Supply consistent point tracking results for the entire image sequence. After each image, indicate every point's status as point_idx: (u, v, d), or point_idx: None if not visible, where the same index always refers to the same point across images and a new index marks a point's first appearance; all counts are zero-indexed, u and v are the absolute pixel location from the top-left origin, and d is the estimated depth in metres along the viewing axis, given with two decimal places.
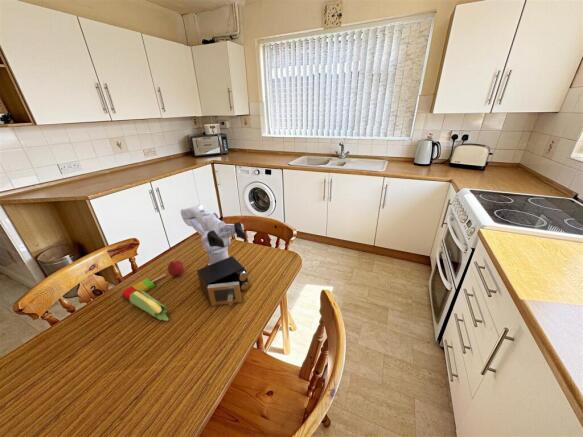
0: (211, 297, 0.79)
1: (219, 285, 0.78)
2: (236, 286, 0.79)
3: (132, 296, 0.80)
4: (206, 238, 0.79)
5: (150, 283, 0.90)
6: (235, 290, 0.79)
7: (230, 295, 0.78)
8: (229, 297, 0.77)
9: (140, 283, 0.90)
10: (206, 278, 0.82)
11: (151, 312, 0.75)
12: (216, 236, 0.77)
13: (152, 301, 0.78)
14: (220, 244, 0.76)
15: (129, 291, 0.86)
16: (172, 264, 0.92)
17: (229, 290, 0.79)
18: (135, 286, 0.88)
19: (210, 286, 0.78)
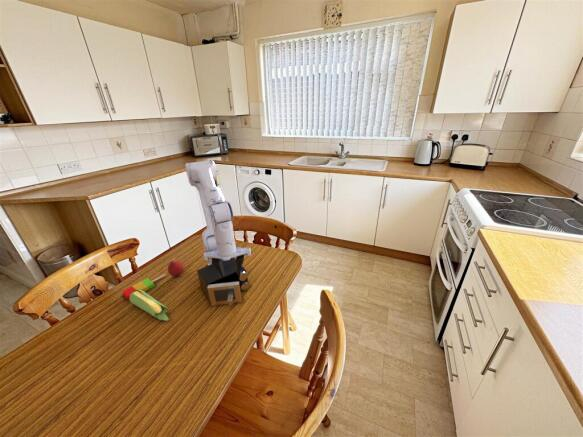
0: (211, 297, 0.79)
1: (219, 285, 0.78)
2: (236, 286, 0.79)
3: (132, 296, 0.80)
4: None
5: (150, 283, 0.90)
6: (235, 290, 0.79)
7: (230, 295, 0.78)
8: (229, 297, 0.77)
9: (140, 283, 0.90)
10: (206, 278, 0.82)
11: (151, 312, 0.75)
12: (219, 270, 0.77)
13: (152, 301, 0.78)
14: None
15: (129, 291, 0.86)
16: (172, 264, 0.92)
17: (229, 290, 0.79)
18: (135, 286, 0.88)
19: (210, 286, 0.78)
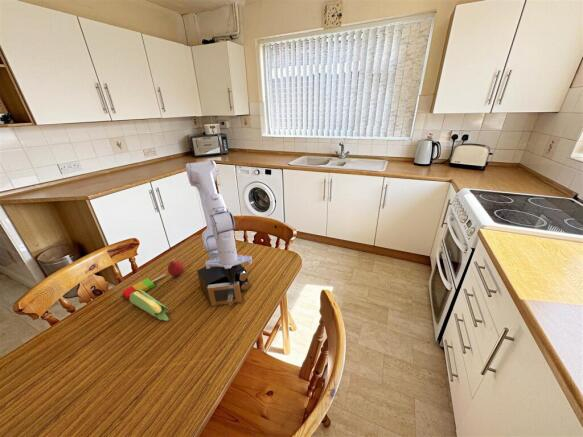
0: (211, 297, 0.79)
1: (219, 285, 0.78)
2: (236, 286, 0.79)
3: (132, 296, 0.80)
4: None
5: (150, 283, 0.90)
6: (235, 290, 0.79)
7: (230, 295, 0.78)
8: (229, 297, 0.77)
9: (140, 283, 0.90)
10: (206, 278, 0.82)
11: (151, 312, 0.75)
12: (228, 276, 0.78)
13: (152, 301, 0.78)
14: None
15: (129, 291, 0.86)
16: (172, 264, 0.92)
17: (229, 290, 0.79)
18: (135, 286, 0.88)
19: (210, 286, 0.78)
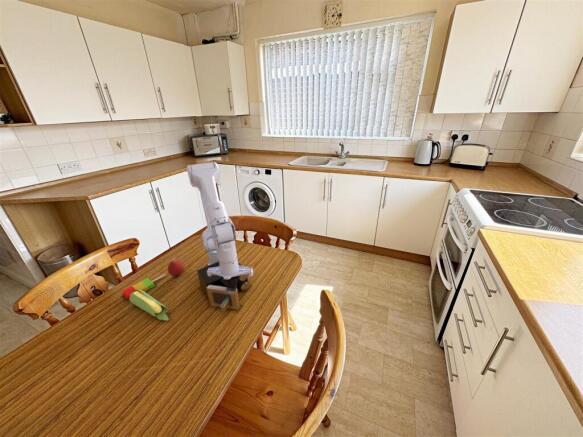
0: (210, 297, 0.79)
1: (217, 288, 0.77)
2: (233, 293, 0.76)
3: (132, 296, 0.80)
4: None
5: (150, 283, 0.90)
6: (232, 297, 0.77)
7: (225, 301, 0.76)
8: (223, 303, 0.75)
9: (140, 283, 0.90)
10: (206, 278, 0.82)
11: (151, 312, 0.75)
12: (228, 286, 0.77)
13: (152, 301, 0.78)
14: None
15: (129, 291, 0.86)
16: (172, 264, 0.92)
17: (226, 295, 0.77)
18: (135, 286, 0.88)
19: (210, 287, 0.78)
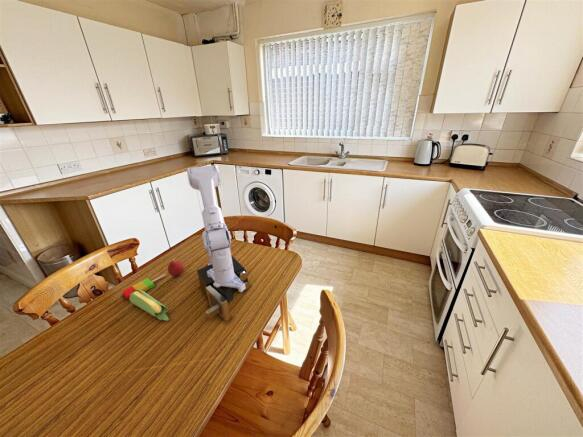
0: (208, 298, 0.79)
1: (213, 292, 0.76)
2: (221, 303, 0.72)
3: (132, 296, 0.81)
4: None
5: (150, 283, 0.90)
6: (221, 306, 0.73)
7: (214, 308, 0.73)
8: (211, 309, 0.73)
9: (140, 283, 0.90)
10: (206, 278, 0.82)
11: (151, 312, 0.75)
12: (222, 293, 0.74)
13: (152, 301, 0.78)
14: None
15: (129, 291, 0.86)
16: (172, 264, 0.92)
17: (217, 302, 0.74)
18: (135, 286, 0.88)
19: (208, 288, 0.77)
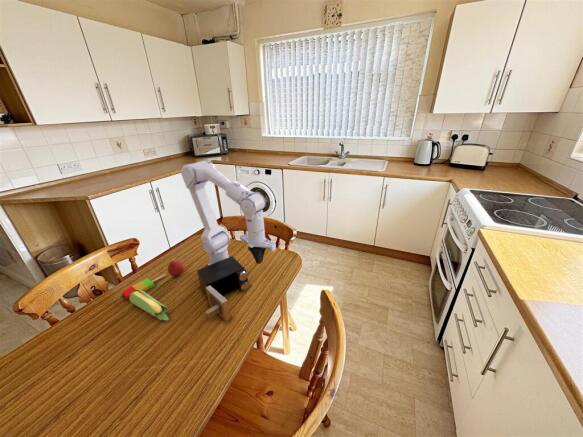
0: (208, 298, 0.79)
1: (213, 292, 0.76)
2: (221, 303, 0.72)
3: (132, 296, 0.81)
4: None
5: (150, 283, 0.90)
6: (221, 306, 0.73)
7: (214, 308, 0.73)
8: (211, 309, 0.73)
9: (140, 283, 0.90)
10: (206, 278, 0.82)
11: (151, 312, 0.75)
12: (253, 255, 0.84)
13: (152, 301, 0.78)
14: None
15: (129, 291, 0.86)
16: (172, 264, 0.92)
17: (217, 302, 0.74)
18: (135, 286, 0.88)
19: (208, 288, 0.77)
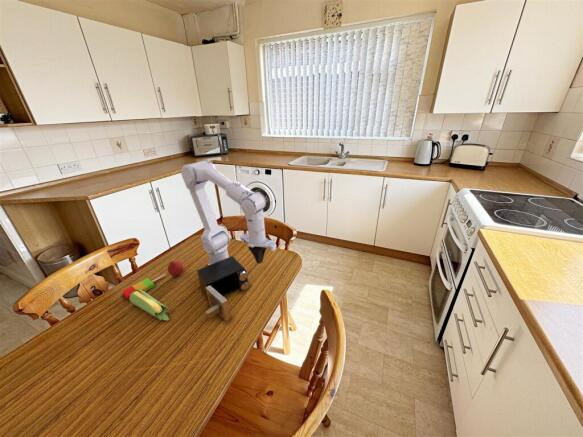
0: (208, 298, 0.79)
1: (213, 292, 0.76)
2: (221, 303, 0.72)
3: (132, 296, 0.81)
4: None
5: (150, 283, 0.90)
6: (221, 306, 0.73)
7: (214, 308, 0.73)
8: (211, 309, 0.73)
9: (140, 283, 0.90)
10: (206, 278, 0.82)
11: (151, 312, 0.75)
12: (254, 255, 0.84)
13: (152, 301, 0.78)
14: None
15: (129, 291, 0.86)
16: (172, 264, 0.92)
17: (217, 302, 0.74)
18: (135, 286, 0.88)
19: (208, 288, 0.77)
